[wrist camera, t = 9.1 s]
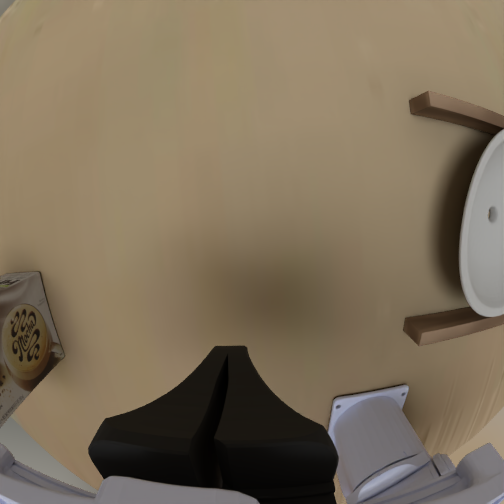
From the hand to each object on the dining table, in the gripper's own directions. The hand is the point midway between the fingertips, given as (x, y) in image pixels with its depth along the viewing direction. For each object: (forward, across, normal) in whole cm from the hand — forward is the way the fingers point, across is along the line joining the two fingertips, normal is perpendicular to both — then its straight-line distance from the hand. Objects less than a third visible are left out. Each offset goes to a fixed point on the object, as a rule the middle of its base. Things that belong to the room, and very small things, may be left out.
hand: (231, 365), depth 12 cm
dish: (+10, -23, -6) cm, 26 cm away
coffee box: (+10, +21, +3) cm, 23 cm away
